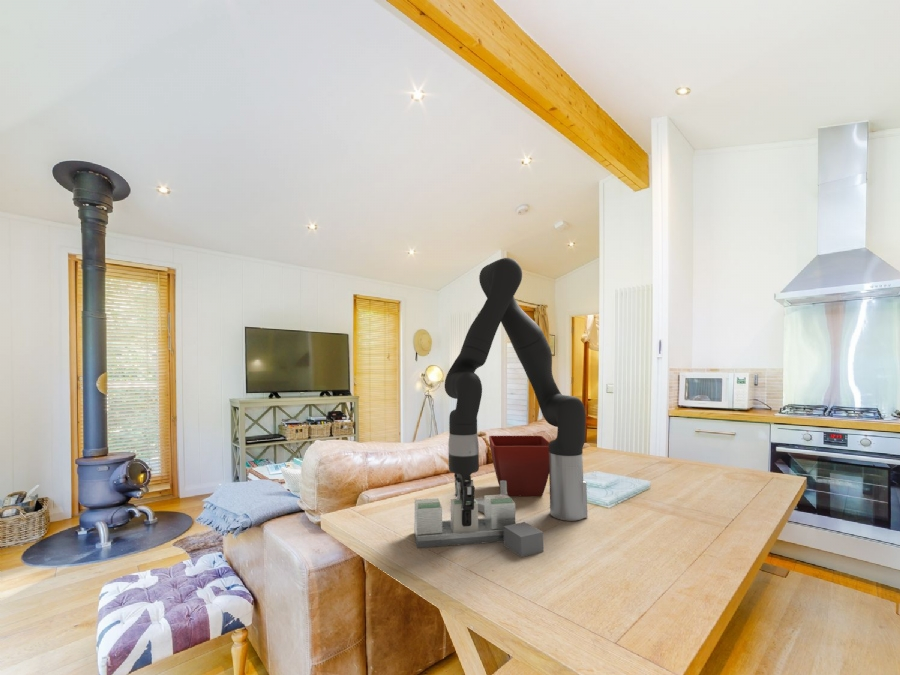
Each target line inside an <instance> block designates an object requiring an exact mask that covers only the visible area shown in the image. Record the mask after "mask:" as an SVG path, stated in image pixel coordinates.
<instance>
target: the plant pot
mask: <svg viewBox="0 0 900 675" xmlns="http://www.w3.org/2000/svg"><path fill="white" fill-rule="evenodd" d="M488 440H489V448H490V453H491V461H492V465H493V467H494V472H495V476H496V479H497V483H498V486H499V487H500V481H502V480H504V481H506V484H507V495H508V496H509V497H510V498H512V497H520V498H521V497H533V498H535V497H542V496H543V495H544V492H545V489H546V486H547V482H548V479H549V442H550V441H549V440H548V439H547V438H546V437H544V436H543V435H489V436H488Z"/></svg>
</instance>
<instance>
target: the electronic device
mask: <svg viewBox="0 0 900 675" xmlns="http://www.w3.org/2000/svg"><path fill="white" fill-rule="evenodd" d="M499 489H500V493H499V495H501V494H507V484H506V481H504V480H502V481H500V486H499ZM474 499H475V500H476V501H477V503H478V512H480V511H481V513H483V512H484V514H485V511H484V497H477V498H474Z"/></svg>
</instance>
